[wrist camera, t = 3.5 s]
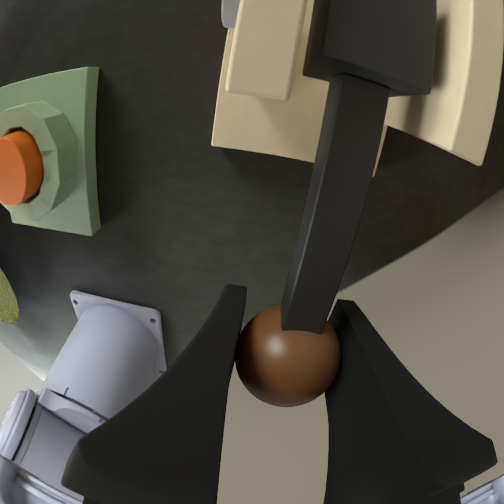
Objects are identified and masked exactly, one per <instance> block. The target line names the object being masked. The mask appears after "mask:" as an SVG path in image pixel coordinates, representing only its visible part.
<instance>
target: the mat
mask: <svg viewBox="0 0 504 504" xmlns="http://www.w3.org/2000/svg"><path fill="white" fill-rule="evenodd" d="M18 319H19V307H18V303H17V300H16V296H15V295H14V292H13V290H12V288H11V286H10V283H9V281H8V280H7V278H6V277H5V275H4V273H3V271H2V270H1V269H0V320H1V321H4V322H6V323H10V324H11V323H15V322H16V321H17V320H18Z"/></svg>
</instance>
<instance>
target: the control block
mask: <svg viewBox="0 0 504 504" xmlns="http://www.w3.org/2000/svg"><path fill="white" fill-rule="evenodd" d="M98 73H99V67H84V68H78V69H72V70H66V71H61V72H56V73H51V74H47V75H43V76H38V77H34V78H30V79H27V80H23V81H19V82H16V83H13V84H9V85H6V86H3V87H0V138H1V137H3V136H6V135H8V134H11V133H13V132H16V131H24V132H27V133H29V134H30V135H31V136H32V137H33V138H34V139H35V141H36V143H37V145H38V147H39V149H40V152H41V154H42V159H43V170H44V174H43V180H42V183H41V185H40V188H39V189H38V191H37V192H36V193H35V194H33V195H32V196H30V197H29V198H28V199H26V200H25V201H23V202H22V203H20V204H19V205H17V206H13V207H10V206H7V205H5V204H3V203H2V202H1V201H0V203H2V205H3V206H4V207H5V208H6V209H7V210H9V211H10V214H11V219H12V222H13V223H18V224H24V225H30V226H35V227H41V228H47V229H53V230H58V231H64V232H70V233H76V234H82V235H88V236H93V235H94V234H95V233H96V232H97V231H98V230H99V229H100V228H101V224H100V215H99V205H98V193H97V177H96V148H95V128H96V99H97V84H98Z"/></svg>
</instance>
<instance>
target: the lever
mask: <svg viewBox="0 0 504 504" xmlns="http://www.w3.org/2000/svg"><path fill="white" fill-rule="evenodd" d="M436 23H437V0H314V4H313V11H312V17H311V23H310V30H309V36H308V42H307V48H306V54H305V60H304V66H303V72H302V74H303V76H306V77H310V78H315V79H319V80H323V81H327V82H329V88H328V94H327V99H326V105H325V110H324V116H323V121H322V126H321V132H320V137H319V142H318V147H317V152H316V157H315V162H314V166H313V171H312V176H311V181H310V185H309V190H308V195H307V199H306V204H305V208H304V212H303V217H302V221H301V226H300V230H299V234H298V238H297V242H296V247H295V251H294V255H293V259H292V263H291V267H290V271H289V275H288V279H287V283H286V287H285V291H284V295H283V298H282V302H281V305H277V306H273V307H270V308H268V309H266V310H264V311H262V312H260V313H258V314H257V315H256V316H254V317H253V318H252V319H251V320H250V321H249V322H248V323H247V324H246V326H245V327H244V329H243V330H242V332H241V334H240V336H239V339H238V343H237V347H236V352H235V363H236V369H237V372H238V375H239V378H240V379H241V381H242V383H243V384H244V386H245V387H246V388H247V390H248V391H249V392H250V393H252V395H254V396H255V397H256V398H258V399H259V400H261V401H263V402H266V403H268V404H271V405H274V406H281V407H293V406H298V405H303V404H305V403H308V402H310V401H312V400H314V399H316V398H317V397H319V396H320V395H321V394H323V393H324V392H325V391H326V390H327V389H328V387H329V386H330V385H331V383H332V382H333V380H334V379H335V377H336V375H337V372H338V369H339V365H340V359H341V350H340V344H339V340H338V337H337V335H336V332H335V330H334V329H333V327H332V326H331V324H330V323H329V322H328V321H327V317H328V315H329V312H330V310H331V307H332V304H333V302H334V299H335V296H336V293H337V291H338V288H339V285H340V282H341V279H342V276H343V274H344V271H345V268H346V265H347V262H348V259H349V256H350V253H351V249H352V246H353V243H354V240H355V237H356V233H357V230H358V227H359V223H360V220H361V217H362V213H363V210H364V206H365V202H366V199H367V195H368V191H369V187H370V183H371V180H372V176H373V171H374V167H375V163H376V159H377V155H378V150H379V146H380V141H381V136H382V131H383V126H384V121H385V116H386V111H387V105H388V99H389V97H398V96H411V95H429V94H430V93H431V86H432V78H433V69H434V59H435V45H436Z"/></svg>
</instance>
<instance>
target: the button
mask: <svg viewBox="0 0 504 504" xmlns="http://www.w3.org/2000/svg"><path fill="white" fill-rule="evenodd" d="M43 174H44V170H43V159H42V154H41V152H40V149H39V147H38V145H37V143H36V141H35V139H34V138H33V137H32V136H31V135H30V134H29V133H27V132H24V131H16V132H13V133H11V134H8V135H6V136H3V137H1V138H0V201H1V202H2V203H3V204H5V205H7V206H10V207H13V206H17V205H19V204H20V203H22V202H23V201H25V200H26V199H28V198H29V197H30V196H32V195H33V194H35V193H36V192H37V191H38V189H39V188H40V185H41V183H42V180H43Z"/></svg>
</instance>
